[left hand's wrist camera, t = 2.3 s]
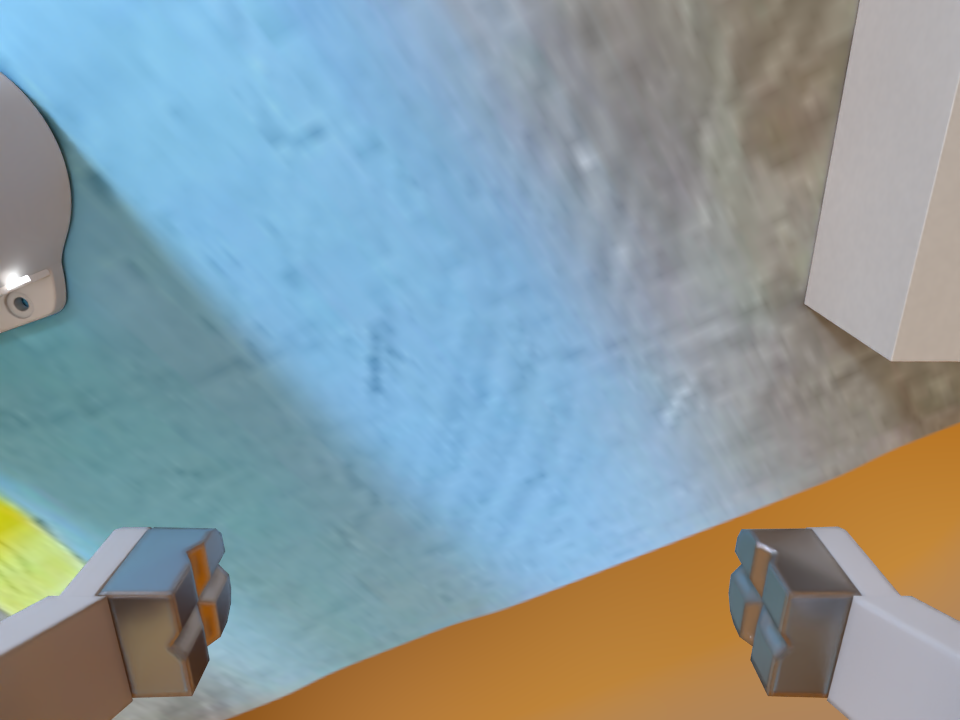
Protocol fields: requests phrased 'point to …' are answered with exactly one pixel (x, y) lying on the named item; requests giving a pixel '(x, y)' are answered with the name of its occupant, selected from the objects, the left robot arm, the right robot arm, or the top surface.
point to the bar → (895, 186)
